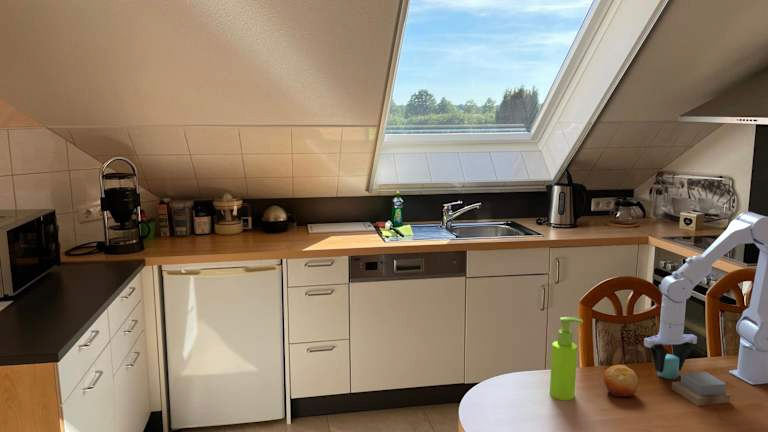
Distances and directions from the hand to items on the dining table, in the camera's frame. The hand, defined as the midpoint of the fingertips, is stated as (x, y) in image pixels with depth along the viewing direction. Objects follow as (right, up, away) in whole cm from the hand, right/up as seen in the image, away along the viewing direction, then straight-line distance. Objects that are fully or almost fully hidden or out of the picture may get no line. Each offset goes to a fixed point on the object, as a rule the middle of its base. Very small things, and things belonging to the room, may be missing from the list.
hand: (668, 370), depth 158 cm
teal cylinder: (0, -1, 0) cm, 1 cm away
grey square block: (+3, -2, -12) cm, 12 cm away
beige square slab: (+2, -4, -11) cm, 12 cm away
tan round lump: (-17, -3, -10) cm, 20 cm away
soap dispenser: (-31, -3, -11) cm, 33 cm away
